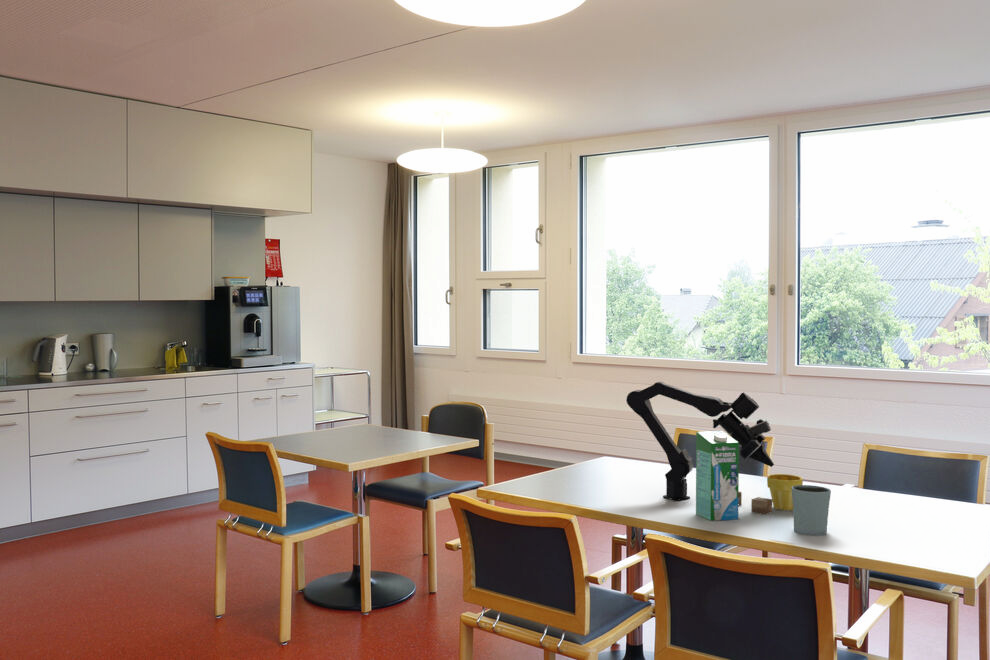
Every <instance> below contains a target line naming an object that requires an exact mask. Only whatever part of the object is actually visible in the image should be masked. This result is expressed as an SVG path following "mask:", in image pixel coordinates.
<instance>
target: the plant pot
mask: <svg viewBox="0 0 990 660" xmlns="http://www.w3.org/2000/svg"><path fill="white" fill-rule="evenodd" d="M766 477H767V478H766V479H767V480H766V481H767V488H768V489H769V491H770V492H769V493H770V496H771V499H772V508H774V509H775V508H776V510H778V509H781V510H780V511H793V502H792V488H791V487H792V486H796V485H804V484H803V481H804V480H803V477H802V476H799V475H794V474H788V473H774V474H769V475H767V476H766Z"/></svg>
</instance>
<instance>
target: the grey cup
mask: <svg viewBox="0 0 990 660" xmlns="http://www.w3.org/2000/svg"><path fill="white" fill-rule="evenodd" d="M791 488H792V502H793V510H792V517H793V530H794V532H795V533H798V534H800V535H806V536H824V535H826V534H827V532H828V522H829V521H828V518H829V511H830V510H829V509H830V500H831V493H832V492H831V491H832V490H831V489H830V488H828V487H824V486H818V485H810V484H809V485H807V484H803V485H796V486H792V487H791Z"/></svg>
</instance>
